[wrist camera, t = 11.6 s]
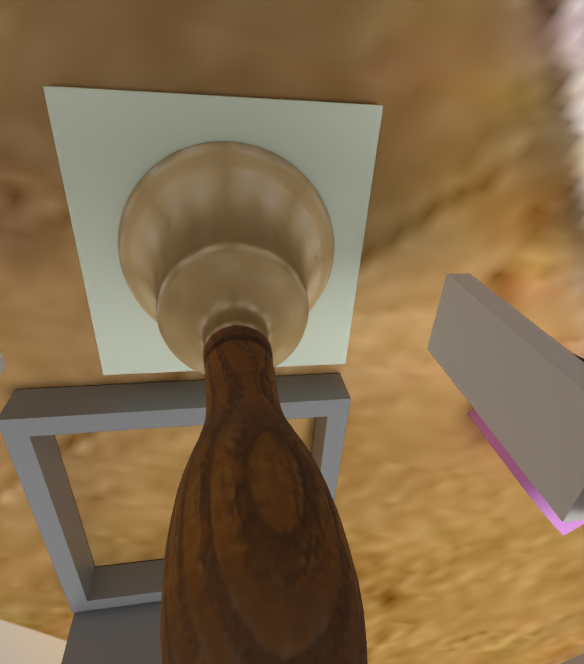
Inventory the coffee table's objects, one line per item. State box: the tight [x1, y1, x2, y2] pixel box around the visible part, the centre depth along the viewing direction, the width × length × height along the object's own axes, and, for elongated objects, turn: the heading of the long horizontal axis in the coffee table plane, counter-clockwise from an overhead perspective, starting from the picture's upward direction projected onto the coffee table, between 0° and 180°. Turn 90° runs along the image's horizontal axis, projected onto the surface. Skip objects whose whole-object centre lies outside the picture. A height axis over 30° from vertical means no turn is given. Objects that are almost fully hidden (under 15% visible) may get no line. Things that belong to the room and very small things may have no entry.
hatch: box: [0, 373, 351, 664], centre depth 19 cm, size 16×15×12 cm
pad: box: [43, 86, 383, 375], centre depth 17 cm, size 11×11×1 cm
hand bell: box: [118, 142, 367, 664], centre depth 10 cm, size 8×8×16 cm
